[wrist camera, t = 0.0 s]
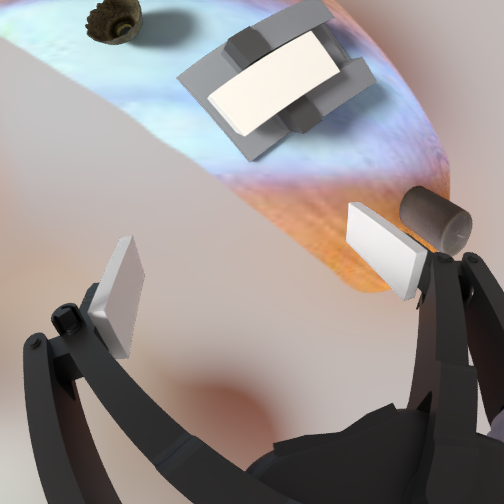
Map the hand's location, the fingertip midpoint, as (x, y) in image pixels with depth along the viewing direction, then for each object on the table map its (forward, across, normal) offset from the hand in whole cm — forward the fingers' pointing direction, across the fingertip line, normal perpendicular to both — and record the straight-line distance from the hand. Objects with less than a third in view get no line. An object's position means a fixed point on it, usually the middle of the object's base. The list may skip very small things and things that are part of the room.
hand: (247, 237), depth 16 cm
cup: (+28, -11, +23) cm, 38 cm away
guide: (+28, +11, +13) cm, 32 cm away
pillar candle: (+28, +41, -13) cm, 51 cm away
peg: (+23, +7, +10) cm, 26 cm away
